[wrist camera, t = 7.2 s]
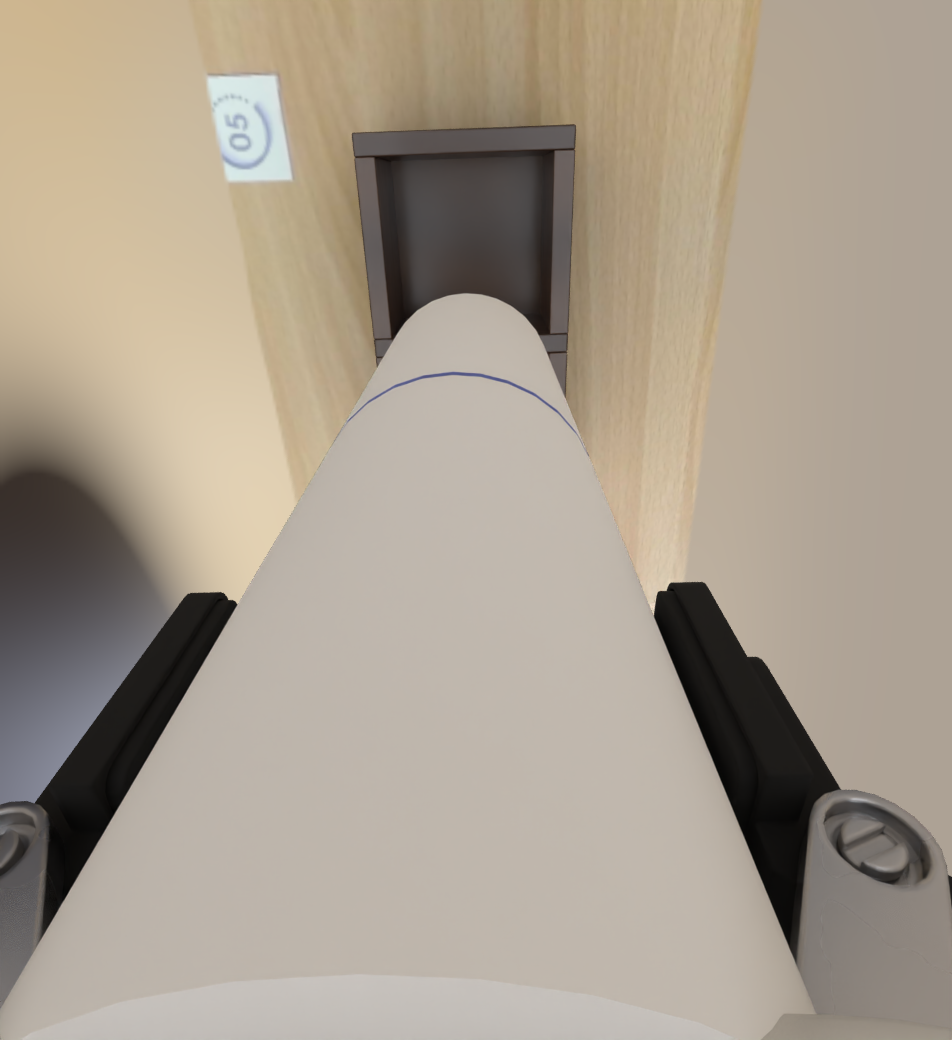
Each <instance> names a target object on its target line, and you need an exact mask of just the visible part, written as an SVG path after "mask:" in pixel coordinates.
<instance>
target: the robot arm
mask: <svg viewBox="0 0 952 1040" xmlns="http://www.w3.org/2000/svg"><path fill="white" fill-rule="evenodd" d="M236 607H237V603H236V602H235V601H233V600H228V598H227V596H225V594H224V593H221V592H215V593H190V594H187V596H186V597H185V598H184V599H183V600H182V601H181V603H180V604H179V606H178V607H177V608H176V610H175V611H174V612H173V614H172V615H171V617H170V618H169V619H168V621H167V622H166V623H165V625H164V626H163V628H162V629H161V630H160V632H159V633H158V634H157V636H156V637H155V639H154V640H153V641H152V643H151V644H150V645H149V647H148V648H147V650H146V651H145V652H144V654H143V655H142V657H141V658H140V659H139V661H138V662H137V663H136V665H135V666H134V668H133V669H132V670H131V671H130V673H129V674H128V676H127V677H126V678H125V680H124V681H123V683H122V684H121V686H120V687H119V688H118V689H117V691H116V692H115V693H114V695H113V696H112V698H111V699H110V700H109V702H108V703H107V705H106V706H105V707H104V709H103V710H102V711H101V713H100V714H99V715H98V717H97V718H96V720H95V721H94V722H93V724H92V725H91V726H90V728H89V729H88V731H87V732H86V733H85V735H84V736H83V737H82V739H81V740H80V742H79V743H78V744H77V746H76V747H75V748H74V750H73V751H72V753H71V754H70V755H69V757H68V758H67V759H66V761H65V762H64V763H63V765H62V766H61V768H60V769H59V770H58V772H57V773H56V774H55V776H54V777H53V779H52V780H51V781H50V783H49V784H48V786H47V787H46V788H45V790H44V791H43V793H42V794H41V795H40V797H39V798H38V799H37V801H36V802H35V803H31V802H28V801H21V802H8V803H5V804H1V805H0V1009H1V1007H2V1005H3V1004H4V1002H5V1000H6V998H7V997H8V995H9V993H10V992H11V990H12V988H13V987H14V985H15V983H16V981H17V980H18V978H19V976H20V975H21V973H22V971H23V970H24V968H25V966H26V964H27V963H28V961H29V959H30V958H31V956H32V954H33V952H34V951H35V949H36V947H37V946H38V944H39V942H40V941H41V939H42V937H43V935H44V934H45V932H46V930H47V929H48V927H49V925H50V924H51V922H52V920H53V918H54V917H55V915H56V913H57V912H58V910H59V908H60V906H61V905H62V903H63V901H64V900H65V898H66V896H67V895H68V893H69V891H70V889H71V888H72V886H73V884H74V883H75V881H76V879H77V878H78V876H79V874H80V872H81V871H82V869H83V867H84V866H85V864H86V862H87V860H88V859H89V857H90V855H91V854H92V852H93V850H94V849H95V847H96V845H97V843H98V842H99V840H100V838H101V837H102V835H103V833H104V832H105V830H106V828H107V826H108V825H109V823H110V821H111V820H112V818H113V816H114V815H115V813H116V811H117V809H118V808H119V806H120V804H121V803H122V801H123V799H124V797H125V796H126V794H127V792H128V791H129V789H130V787H131V786H132V784H133V782H134V780H135V779H136V777H137V775H138V774H139V772H140V770H141V769H142V767H143V765H144V763H145V762H146V760H147V758H148V757H149V755H150V753H151V751H152V750H153V748H154V746H155V745H156V743H157V741H158V740H159V738H160V736H161V734H162V733H163V731H164V729H165V728H166V726H167V724H168V723H169V721H170V719H171V717H172V716H173V714H174V712H175V711H176V709H177V707H178V705H179V704H180V702H181V700H182V699H183V697H184V695H185V694H186V692H187V690H188V688H189V687H190V685H191V683H192V682H193V680H194V678H195V677H196V675H197V673H198V671H199V670H200V668H201V666H202V665H203V663H204V661H205V660H206V658H207V656H208V654H209V653H210V651H211V649H212V648H213V646H214V644H215V642H216V641H217V639H218V637H219V636H220V634H221V632H222V631H223V629H224V627H225V625H226V624H227V622H228V620H229V619H230V617H231V615H232V614H233V612H234V610H235V608H236ZM654 618H655V621H656V623H657V626H658V628H659V631H660V633H661V636H662V638H663V640H664V643H665V645H666V648H667V650H668V653H669V655H670V658H671V660H672V662H673V665H674V667H675V670H676V672H677V675H678V677H679V680H680V682H681V684H682V687H683V689H684V692H685V694H686V697H687V699H688V702H689V704H690V706H691V709H692V711H693V714H694V716H695V719H696V721H697V724H698V726H699V728H700V731H701V733H702V736H703V738H704V741H705V743H706V746H707V748H708V750H709V753H710V755H711V758H712V760H713V763H714V765H715V768H716V770H717V772H718V775H719V777H720V780H721V782H722V785H723V787H724V790H725V792H726V794H727V797H728V799H729V802H730V804H731V807H732V809H733V812H734V814H735V816H736V819H737V821H738V824H739V826H740V829H741V831H742V834H743V836H744V838H745V841H746V843H747V846H748V848H749V851H750V853H751V856H752V858H753V860H754V863H755V865H756V868H757V870H758V873H759V875H760V878H761V880H762V882H763V885H764V887H765V890H766V892H767V895H768V897H769V900H770V902H771V905H772V907H773V909H774V912H775V914H776V917H777V919H778V922H779V924H780V927H781V929H782V931H783V934H784V936H785V939H786V941H787V944H788V946H789V949H790V951H791V953H792V956H793V958H794V961H795V963H796V966H797V968H798V971H799V973H800V975H801V978H802V980H803V983H804V985H805V988H806V990H807V993H808V995H809V997H810V1000H811V1002H812V1005H813V1007H814V1010H815V1012H816V1014H783V1015H782V1016H781V1017H780V1018H779V1020H778V1021H777V1023H776V1024H775V1026H774V1027H773V1029H772V1030H771V1031H770V1032H768V1033H767V1034H766V1035H765V1036H764V1037H763V1038H762V1039H761V1040H952V877H951V876H949V875H948V871H947V865H946V862H945V859H944V856H943V852H942V849H941V848H940V846H939V845H938V843H937V842H936V840H935V839H934V837H933V836H932V834H931V833H930V832H929V831H928V830H927V829H926V828H925V827H924V826H923V825H922V824H921V823H920V822H919V821H918V820H917V819H916V818H915V817H914V816H912V815H911V814H910V813H908V812H907V811H905V810H903V809H902V808H900V807H899V806H898V805H896V804H895V803H892V802H890V801H888V800H886V799H883V798H881V797H879V796H877V795H874V794H870V793H866V792H862V791H858V790H841V789H840V788H839V786H838V784H837V782H836V781H835V779H834V777H833V776H832V774H831V772H830V771H829V769H828V767H827V766H826V764H825V762H824V761H823V759H822V757H821V756H820V754H819V752H818V751H817V749H816V747H815V746H814V744H813V742H812V741H811V739H810V737H809V736H808V734H807V732H806V731H805V729H804V727H803V725H802V724H801V722H800V720H799V719H798V717H797V716H796V714H795V712H794V710H793V709H792V707H791V706H790V704H789V702H788V701H787V699H786V697H785V695H784V694H783V692H782V690H781V689H780V687H779V685H778V684H777V682H776V680H775V679H774V677H773V675H772V674H771V672H770V670H769V669H768V667H767V666H766V665H765V663H764V662H763V660H762V659H760V658H758V657H747V655H746V654H745V652H744V650H743V648H742V647H741V645H740V643H739V641H738V640H737V638H736V636H735V635H734V633H733V631H732V629H731V627H730V626H729V624H728V622H727V620H726V618H725V617H724V615H723V613H722V611H721V610H720V608H719V606H718V604H717V603H716V601H715V599H714V597H713V596H712V594H711V592H710V590H709V589H708V587H707V586H706V584H705V583H703V582H682V583H670V584H669V586H668V588H667V591H659V592H658V594H657V598H656V604H655V612H654ZM0 1040H1V1037H0Z"/></svg>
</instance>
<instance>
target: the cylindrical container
mask: <svg viewBox="0 0 952 1040" xmlns="http://www.w3.org/2000/svg"><path fill="white" fill-rule="evenodd" d="M783 1014H816V1012H815V1010H814V1007H813V1005H812V1002H811V1000H810V997H809V995H808V993H807V990H806V988H805V985H804V983H803V980H802V978H801V975H800V973H799V971H798V968H797V966H796V963H795V961H794V958H793V956H792V953H791V951H790V949H789V946H788V944H787V941H786V939H785V936H784V934H783V931H782V929H781V927H780V924H779V922H778V919H777V917H776V914H775V912H774V909H773V907H772V905H771V902H770V900H769V897H768V895H767V892H766V890H765V887H764V885H763V882H762V880H761V878H760V875H759V873H758V870H757V868H756V865H755V863H754V860H753V858H752V856H751V853H750V851H749V848H748V846H747V843H746V841H745V838H744V836H743V834H742V831H741V829H740V826H739V824H738V821H737V819H736V816H735V814H734V812H733V809H732V807H731V804H730V802H729V799H728V797H727V794H726V792H725V790H724V787H723V785H722V782H721V780H720V777H719V775H718V772H717V770H716V768H715V765H714V763H713V760H712V758H711V755H710V753H709V750H708V748H707V746H706V743H705V741H704V738H703V736H702V733H701V731H700V728H699V726H698V724H697V721H696V719H695V716H694V714H693V711H692V709H691V706H690V704H689V702H688V699H687V697H686V694H685V692H684V689H683V687H682V684H681V682H680V680H679V677H678V675H677V672H676V670H675V667H674V665H673V662H672V660H671V658H670V655H669V653H668V650H667V648H666V645H665V643H664V640H663V638H662V636H661V633H660V631H659V628H658V626H657V623H656V621H655V618H654V616H653V614H652V611H651V609H650V606H649V604H648V601H647V599H646V596H645V594H644V591H643V589H642V586H641V584H640V582H639V579H638V577H637V574H636V572H635V569H634V567H633V564H632V562H631V559H630V557H629V554H628V552H627V549H626V547H625V544H624V542H623V539H622V537H621V534H620V532H619V529H618V527H617V524H616V522H615V519H614V517H613V514H612V512H611V509H610V507H609V504H608V502H607V500H606V497H605V495H604V492H603V490H602V487H601V485H600V482H599V480H598V477H597V475H596V472H595V470H594V467H593V465H592V462H591V460H590V458H589V455H588V452H587V450H586V448H585V445H584V443H583V440H582V438H581V435H580V433H579V431H578V428H577V426H576V423H575V421H574V418H573V416H572V414H571V411H570V409H569V406H568V404H567V401H566V399H565V397H564V394H563V392H562V389H561V387H560V384H559V382H558V380H557V377H556V375H555V372H554V370H553V367H552V365H551V362H550V360H549V357H548V355H547V352H546V349H545V347H544V345H543V343H542V341H541V339H540V337H539V335H538V333H537V331H536V330H535V328H534V327H533V326H532V325H531V323H530V322H529V321H528V320H527V319H526V317H525V316H523V315H522V314H521V313H520V312H518V311H517V310H516V309H515V308H513V307H512V306H510V305H508V304H506V303H504V302H502V301H500V300H498V299H496V298H493V297H489V296H485V295H481V294H468V293H463V294H456V295H448V296H446V297H443V298H440V299H437V300H434V301H432V302H430V303H429V304H427V305H425V306H424V307H422V308H420V309H419V310H417V311H416V312H415V313H414V314H413V315H412V316H411V317H410V318H409V319H408V320H407V321H406V322H405V323H404V325H403V326H402V328H401V329H400V331H399V332H398V334H397V335H396V337H395V339H394V340H393V342H392V344H391V345H390V347H389V349H388V350H387V352H386V354H385V355H384V357H383V359H382V360H381V362H380V364H379V366H378V367H377V369H376V371H375V372H374V374H373V376H372V377H371V379H370V381H369V383H368V384H367V386H366V388H365V389H364V391H363V393H362V394H361V396H360V398H359V400H358V401H357V403H356V405H355V406H354V408H353V410H352V412H351V413H350V415H349V417H348V418H347V420H346V422H345V424H344V425H343V427H342V429H341V430H340V432H339V434H338V435H337V437H336V439H335V441H334V442H333V444H332V446H331V447H330V449H329V451H328V452H327V454H326V456H325V458H324V459H323V461H322V463H321V464H320V466H319V468H318V469H317V471H316V473H315V475H314V476H313V478H312V480H311V481H310V483H309V485H308V486H307V488H306V490H305V491H304V493H303V495H302V497H301V498H300V500H299V502H298V503H297V505H296V507H295V508H294V510H293V512H292V513H291V515H290V517H289V519H288V520H287V522H286V524H285V525H284V527H283V529H282V530H281V532H280V534H279V535H278V537H277V539H276V541H275V542H274V544H273V546H272V547H271V549H270V551H269V552H268V554H267V556H266V557H265V559H264V561H263V563H262V564H261V566H260V568H259V569H258V571H257V573H256V574H255V576H254V578H253V579H252V581H251V583H250V585H249V586H248V588H247V590H246V591H245V593H244V595H243V596H242V598H241V600H240V602H239V603H238V605H237V607H236V608H235V610H234V612H233V614H232V615H231V617H230V619H229V620H228V622H227V624H226V625H225V627H224V629H223V631H222V632H221V634H220V636H219V637H218V639H217V641H216V642H215V644H214V646H213V648H212V649H211V651H210V653H209V654H208V656H207V658H206V660H205V661H204V663H203V665H202V666H201V668H200V670H199V671H198V673H197V675H196V677H195V678H194V680H193V682H192V683H191V685H190V687H189V688H188V690H187V692H186V694H185V695H184V697H183V699H182V700H181V702H180V704H179V705H178V707H177V709H176V711H175V712H174V714H173V716H172V717H171V719H170V721H169V723H168V724H167V726H166V728H165V729H164V731H163V733H162V734H161V736H160V738H159V740H158V741H157V743H156V745H155V746H154V748H153V750H152V751H151V753H150V755H149V757H148V758H147V760H146V762H145V763H144V765H143V767H142V769H141V770H140V772H139V774H138V775H137V777H136V779H135V780H134V782H133V784H132V786H131V787H130V789H129V791H128V792H127V794H126V796H125V797H124V799H123V801H122V803H121V804H120V806H119V808H118V809H117V811H116V813H115V815H114V816H113V818H112V820H111V821H110V823H109V825H108V826H107V828H106V830H105V832H104V833H103V835H102V837H101V838H100V840H99V842H98V843H97V845H96V847H95V849H94V850H93V852H92V854H91V855H90V857H89V859H88V860H87V862H86V864H85V866H84V867H83V869H82V871H81V872H80V874H79V876H78V878H77V879H76V881H75V883H74V884H73V886H72V888H71V889H70V891H69V893H68V895H67V896H66V898H65V900H64V901H63V903H62V905H61V906H60V908H59V910H58V912H57V913H56V915H55V917H54V918H53V920H52V922H51V924H50V925H49V927H48V929H47V930H46V932H45V934H44V935H43V937H42V939H41V941H40V942H39V944H38V946H37V947H36V949H35V951H34V952H33V954H32V956H31V958H30V959H29V961H28V963H27V964H26V966H25V968H24V970H23V971H22V973H21V975H20V976H19V978H18V980H17V981H16V983H15V985H14V987H13V988H12V990H11V992H10V993H9V995H8V997H7V998H6V1000H5V1002H4V1004H3V1005H2V1007H1V1009H0V1037H1V1040H761V1039H762V1038H763V1037H764V1036H765V1035H766V1034H767V1033H768V1032H770V1031H771V1030H772V1029H773V1027H774V1026H775V1024H776V1023H777V1021H778V1020H779V1018H780V1017H781V1016H782V1015H783Z"/></svg>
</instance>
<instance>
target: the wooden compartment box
mask: <svg viewBox="0 0 952 1040" xmlns="http://www.w3.org/2000/svg"><path fill="white" fill-rule="evenodd" d="M575 140H576V125H574V124H572V125H546V126H519V127H493V128H466V129H440V130H413V131H387V132H360V133H352V141H353V151H354V156H355V157H356V158H355V159H354V160H355V170H356V179H357V188H358V197H359V207H360V216H361V225H362V234H363V243H364V253H365V262H366V271H367V280H368V290H369V299H370V308H371V317H372V326H373V336H374V339H375V340H374V344H375V353H376V357H377V358H376V363H377V367H378V366H379V364H380V362H381V360H382V359H383V357H384V355H385V354H386V352H387V350H388V349H389V347H390V345H391V344H392V342H393V340H394V339H395V337H396V335H397V334H398V332H399V331H400V329H401V328H402V326H403V325H404V323H405V322H406V321H407V320H408V319H409V318H410V317H411V316H412V315H413V314H414V313H415V312H416V311H417V310H419V309H420V308H422V307H424V306H425V305H427V304H429V303H430V302H432V301H434V300H437V299H440V298H443V297H446V296H448V295H456V294H463V293H468V294H481V295H485V296H489V297H493V298H496V299H498V300H500V301H502V302H504V303H506V304H508V305H510V306H512V307H513V308H515V309H516V310H517V311H518V312H520V313H521V314H522V315H523V316H525V317H526V319H527V320H528V321H529V322H530V323H531V325H532V326H533V327H534V328H535V330H536V331H537V333H538V335H539V337H540V339H541V341H542V343H543V345H544V347H545V349H546V352H547V355H548V357H549V360H550V362H551V365H552V367H553V370H554V372H555V375H556V377H557V380H558V382H559V384H560V387H561V389H562V392H563V394H564V397H566V371H567V344H568V334H567V333H568V321H569V296H570V270H571V245H572V219H573V194H574V168H575V150H574V149H575Z"/></svg>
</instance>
